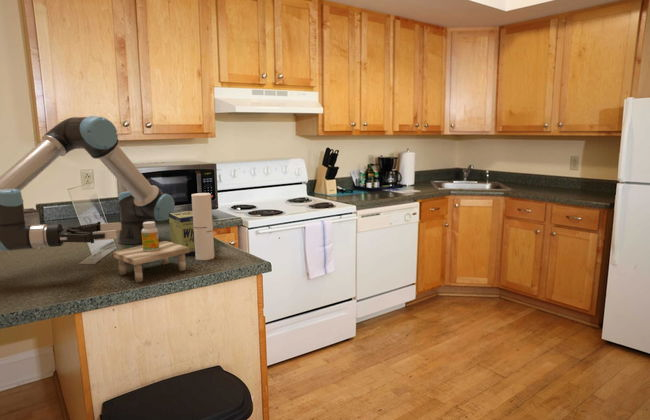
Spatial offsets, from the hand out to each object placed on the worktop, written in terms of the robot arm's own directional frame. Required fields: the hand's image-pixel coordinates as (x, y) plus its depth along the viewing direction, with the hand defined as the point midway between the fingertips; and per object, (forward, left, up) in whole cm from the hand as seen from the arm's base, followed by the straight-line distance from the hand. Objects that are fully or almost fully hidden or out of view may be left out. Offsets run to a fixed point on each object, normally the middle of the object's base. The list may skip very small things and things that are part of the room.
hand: (118, 230), depth 154 cm
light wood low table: (+5, +8, -16) cm, 19 cm away
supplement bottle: (+5, +8, -8) cm, 13 cm away
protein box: (-10, +32, -16) cm, 38 cm away
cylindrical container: (+4, +30, -16) cm, 35 cm away
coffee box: (-73, -8, -16) cm, 75 cm away
